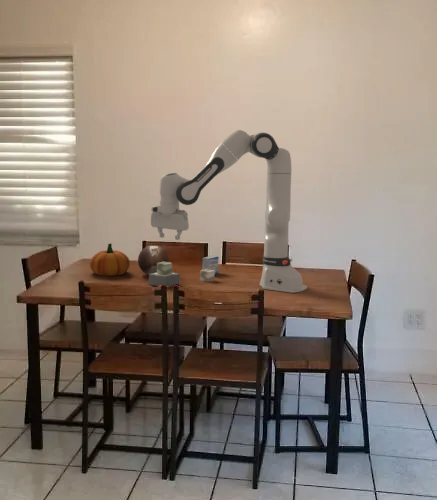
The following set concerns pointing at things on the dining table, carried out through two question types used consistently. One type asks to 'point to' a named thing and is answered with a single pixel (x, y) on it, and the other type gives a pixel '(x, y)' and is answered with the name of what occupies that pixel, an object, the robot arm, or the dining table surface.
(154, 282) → the base block
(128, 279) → the dining table surface
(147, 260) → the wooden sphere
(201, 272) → the off-white block
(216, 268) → the medicine box
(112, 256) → the pumpkin
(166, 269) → the sage block
